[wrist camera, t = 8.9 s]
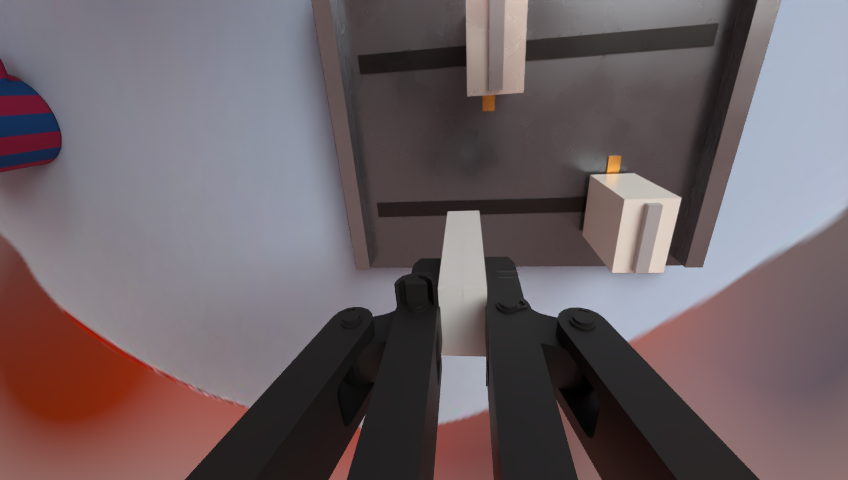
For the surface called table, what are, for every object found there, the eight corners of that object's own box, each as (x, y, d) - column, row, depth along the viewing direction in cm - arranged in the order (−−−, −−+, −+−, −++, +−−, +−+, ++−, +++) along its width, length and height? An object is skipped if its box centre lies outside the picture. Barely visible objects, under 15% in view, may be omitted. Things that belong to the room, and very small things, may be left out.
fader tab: (590, 174, 21) (628, 202, 16) (634, 173, 21) (686, 200, 16) (582, 235, 22) (614, 276, 18) (623, 234, 22) (667, 276, 17)
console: (325, -15, 20) (256, -65, 14) (756, -66, 17) (938, -161, 11) (366, 255, 28) (334, 309, 21) (676, 251, 25) (754, 313, 18)
